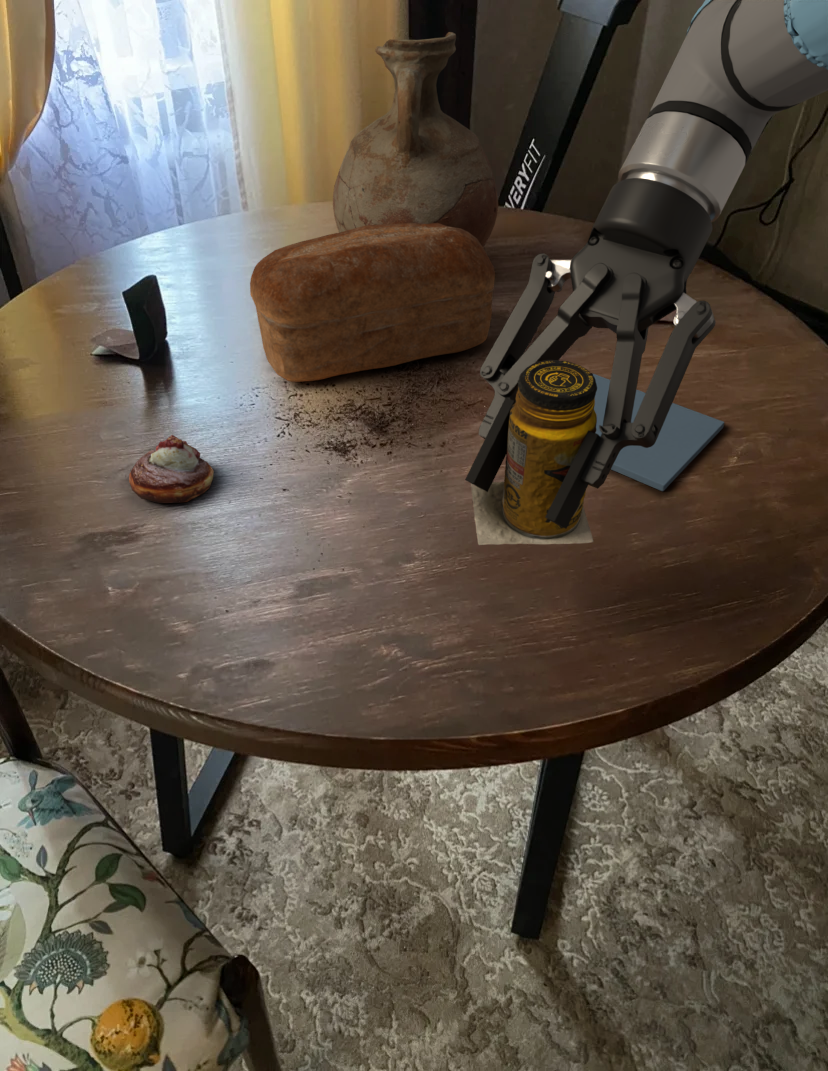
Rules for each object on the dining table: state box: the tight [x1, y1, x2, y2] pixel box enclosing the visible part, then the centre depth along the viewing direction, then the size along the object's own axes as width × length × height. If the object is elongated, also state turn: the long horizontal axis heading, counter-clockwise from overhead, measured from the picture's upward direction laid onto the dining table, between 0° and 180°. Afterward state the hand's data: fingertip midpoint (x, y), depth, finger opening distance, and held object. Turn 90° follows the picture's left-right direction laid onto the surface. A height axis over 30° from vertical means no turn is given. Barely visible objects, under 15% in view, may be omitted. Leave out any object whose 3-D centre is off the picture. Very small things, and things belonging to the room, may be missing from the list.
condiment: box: [470, 359, 597, 546], centre depth 60 cm, size 7×8×12 cm
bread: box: [249, 223, 496, 383], centre depth 97 cm, size 12×28×14 cm, turn 111°
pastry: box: [128, 434, 215, 504], centre depth 81 cm, size 8×8×5 cm
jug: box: [332, 31, 499, 248], centre depth 107 cm, size 22×22×30 cm
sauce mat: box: [592, 373, 725, 492], centre depth 89 cm, size 16×14×1 cm
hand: (515, 503), depth 59 cm, fingers closed on condiment, 6 cm apart
